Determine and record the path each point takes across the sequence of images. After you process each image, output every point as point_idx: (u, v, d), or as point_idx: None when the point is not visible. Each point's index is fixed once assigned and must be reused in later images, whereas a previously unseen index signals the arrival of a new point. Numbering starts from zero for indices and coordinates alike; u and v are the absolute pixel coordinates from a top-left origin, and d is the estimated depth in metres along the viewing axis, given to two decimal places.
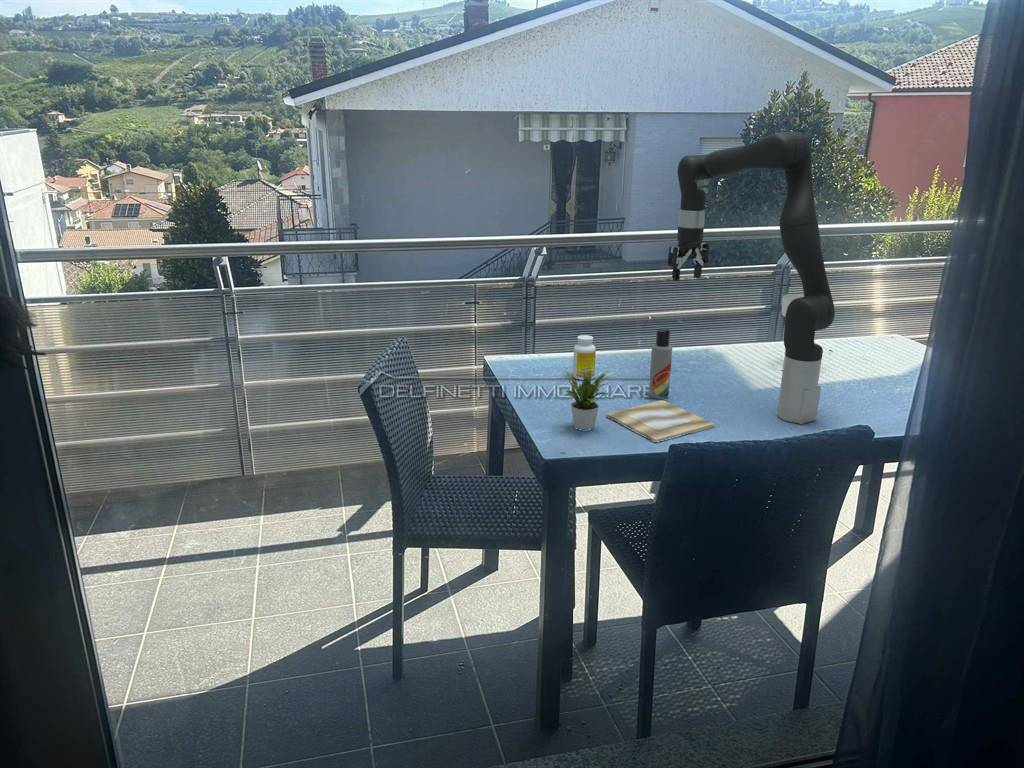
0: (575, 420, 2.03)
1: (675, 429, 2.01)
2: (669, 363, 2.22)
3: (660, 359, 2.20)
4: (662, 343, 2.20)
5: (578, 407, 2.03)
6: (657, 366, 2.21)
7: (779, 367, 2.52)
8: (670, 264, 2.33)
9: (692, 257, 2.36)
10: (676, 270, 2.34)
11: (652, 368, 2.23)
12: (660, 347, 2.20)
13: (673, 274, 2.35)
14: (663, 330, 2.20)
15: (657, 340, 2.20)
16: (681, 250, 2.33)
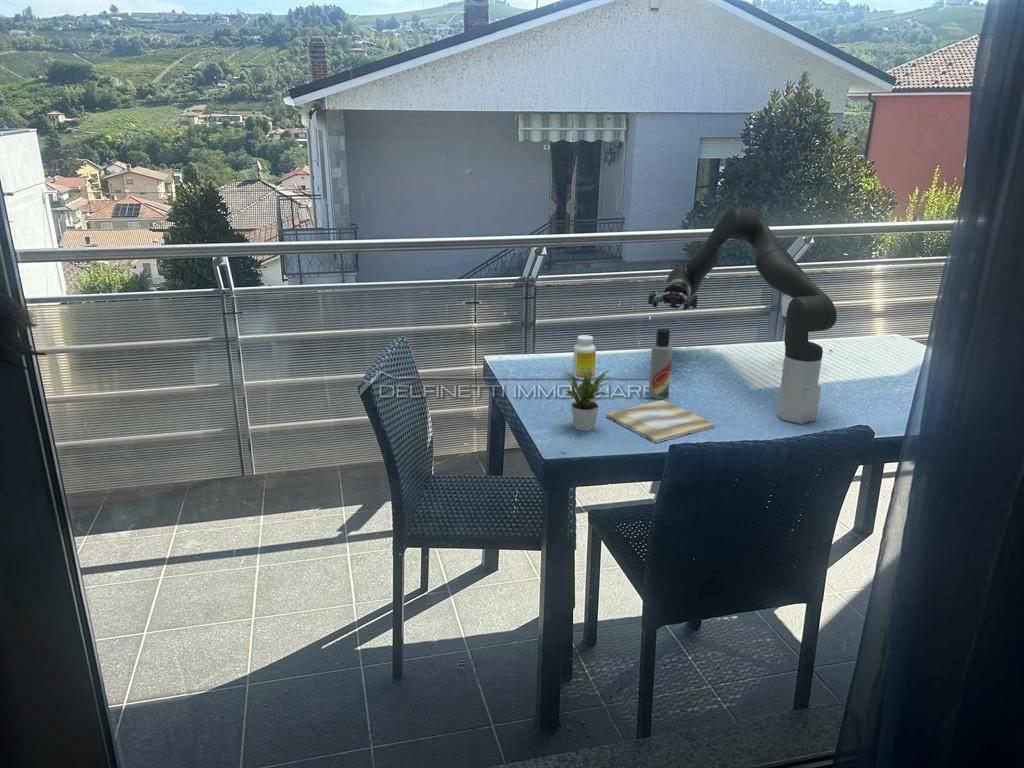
0: (575, 420, 2.03)
1: (675, 429, 2.01)
2: (669, 363, 2.22)
3: (660, 359, 2.20)
4: (662, 343, 2.20)
5: (578, 407, 2.03)
6: (657, 366, 2.21)
7: (779, 367, 2.52)
8: None
9: (675, 296, 2.34)
10: (654, 299, 2.33)
11: (652, 368, 2.23)
12: (660, 347, 2.20)
13: None
14: (663, 330, 2.20)
15: (657, 340, 2.20)
16: None
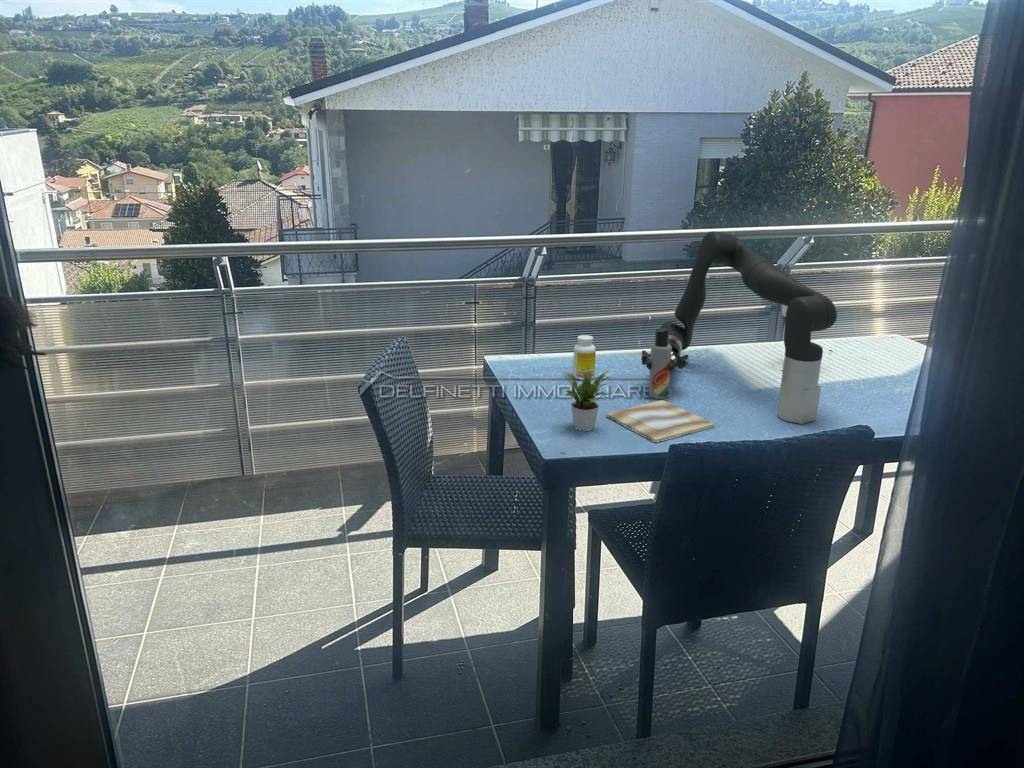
0: (575, 420, 2.03)
1: (675, 429, 2.01)
2: (668, 363, 2.22)
3: (659, 359, 2.20)
4: (661, 343, 2.20)
5: (578, 407, 2.03)
6: (656, 366, 2.21)
7: (779, 367, 2.52)
8: None
9: None
10: (648, 360, 2.25)
11: (651, 368, 2.23)
12: (659, 347, 2.20)
13: None
14: (662, 330, 2.20)
15: (656, 340, 2.20)
16: None
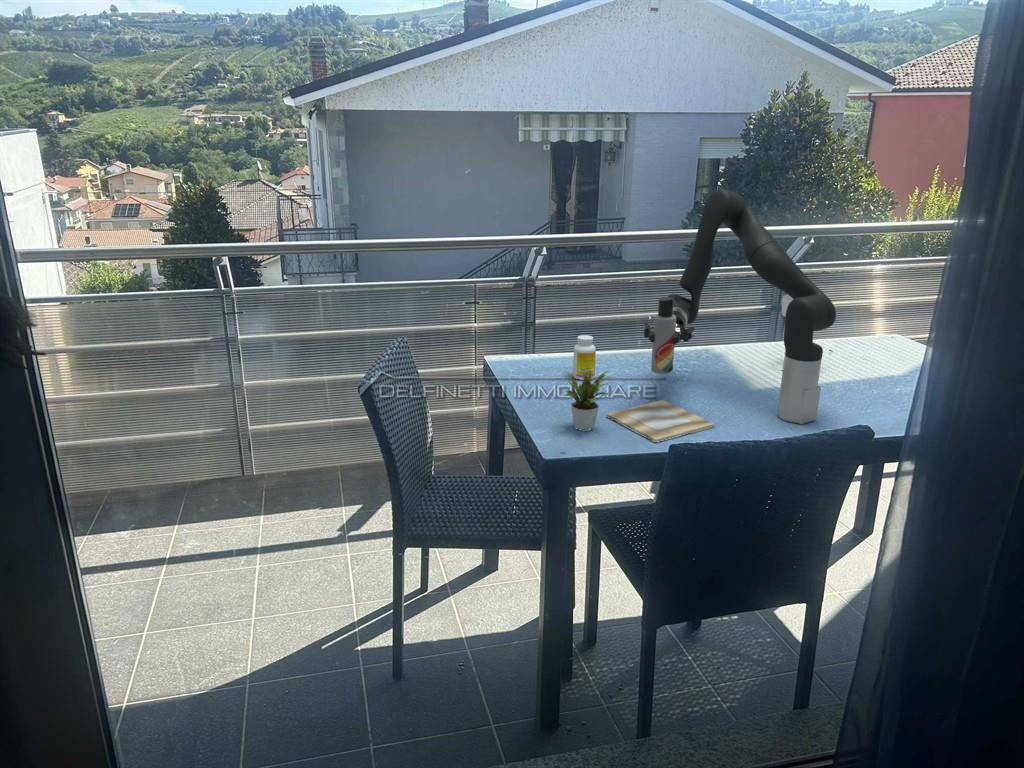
0: (575, 420, 2.03)
1: (675, 429, 2.01)
2: (673, 335, 2.05)
3: (663, 331, 2.04)
4: (665, 313, 2.03)
5: (578, 407, 2.03)
6: (660, 338, 2.05)
7: (779, 367, 2.52)
8: (644, 332, 2.11)
9: None
10: (651, 332, 2.08)
11: (654, 341, 2.06)
12: (663, 317, 2.03)
13: None
14: (666, 299, 2.03)
15: (659, 310, 2.04)
16: None
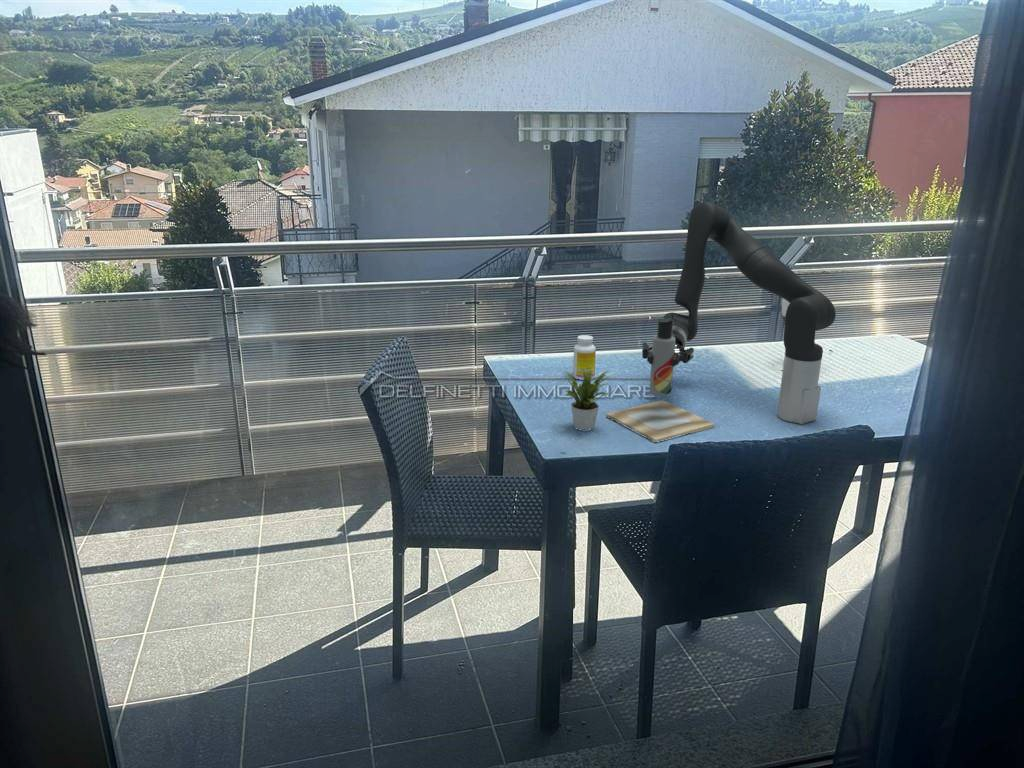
0: (575, 420, 2.03)
1: (675, 429, 2.01)
2: (672, 357, 2.01)
3: (662, 352, 1.99)
4: (664, 335, 1.99)
5: (578, 407, 2.03)
6: (659, 360, 2.00)
7: (779, 367, 2.52)
8: (643, 353, 2.07)
9: None
10: (649, 353, 2.04)
11: (653, 362, 2.02)
12: (662, 339, 1.99)
13: None
14: (665, 320, 1.99)
15: (658, 331, 1.99)
16: None
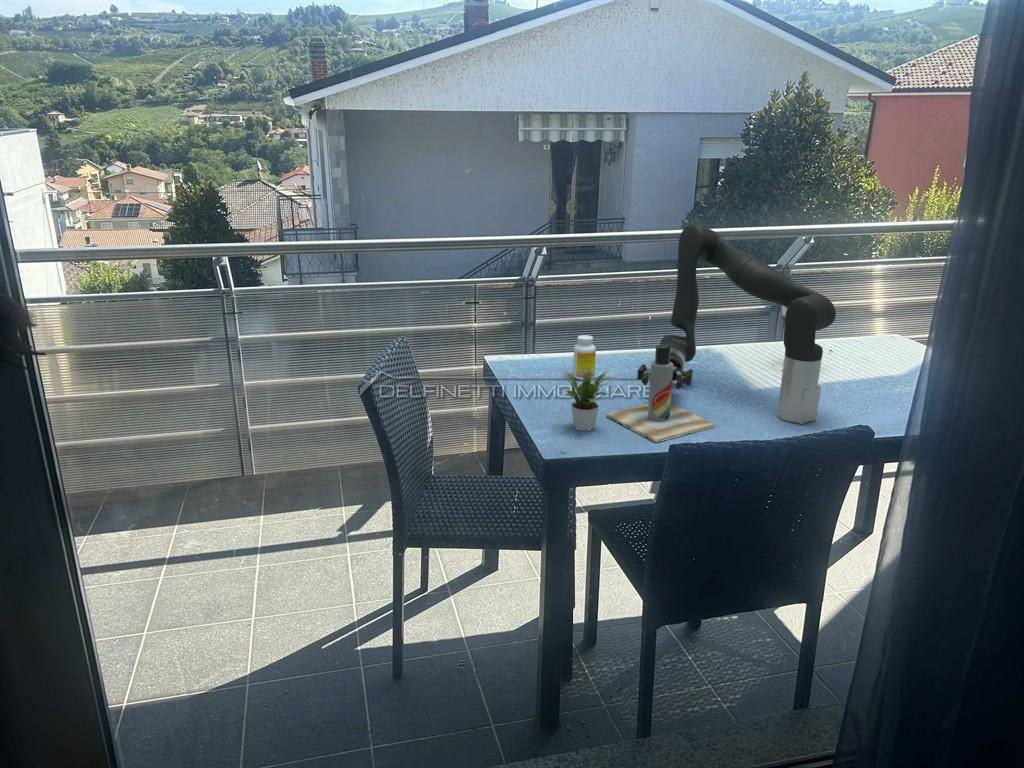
0: (575, 420, 2.03)
1: (675, 429, 2.01)
2: (670, 382, 2.03)
3: (660, 378, 2.02)
4: (662, 360, 2.01)
5: (578, 407, 2.03)
6: (657, 385, 2.03)
7: (779, 367, 2.52)
8: None
9: None
10: (644, 375, 2.07)
11: (651, 388, 2.04)
12: (660, 365, 2.02)
13: None
14: (663, 346, 2.02)
15: (656, 357, 2.02)
16: None
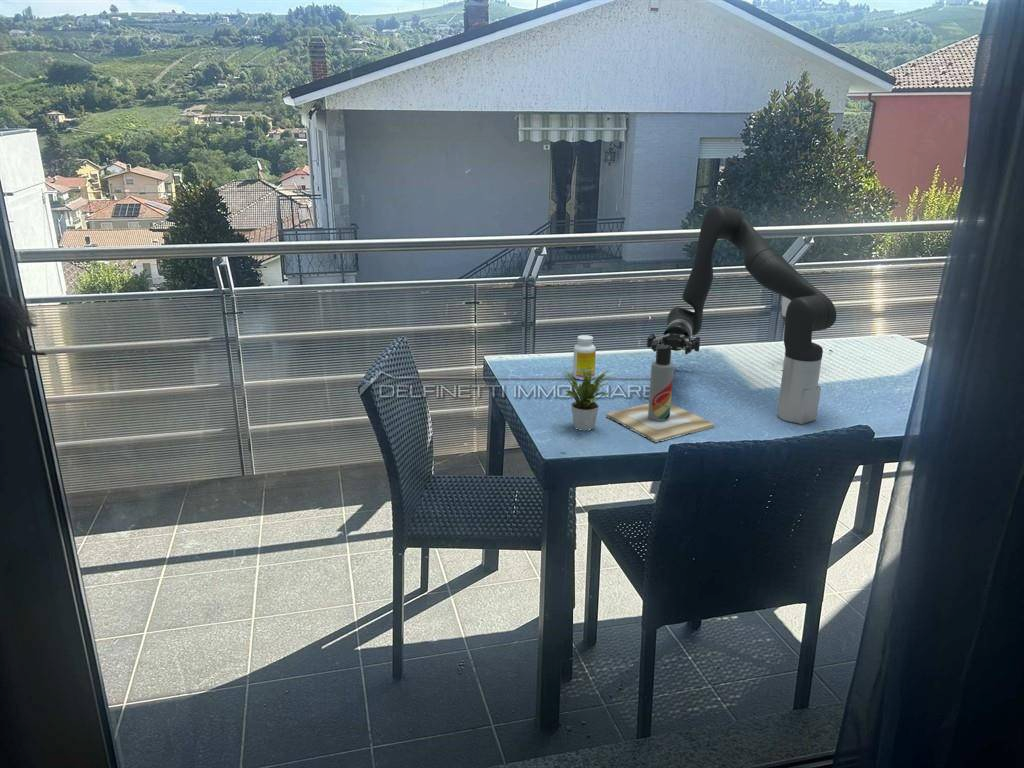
0: (575, 420, 2.03)
1: (675, 429, 2.01)
2: (670, 383, 2.03)
3: (660, 378, 2.02)
4: (663, 361, 2.01)
5: (578, 407, 2.03)
6: (657, 386, 2.03)
7: (779, 367, 2.52)
8: None
9: (676, 339, 2.18)
10: (653, 342, 2.17)
11: (652, 388, 2.04)
12: (660, 365, 2.01)
13: None
14: (664, 347, 2.01)
15: (657, 358, 2.02)
16: None
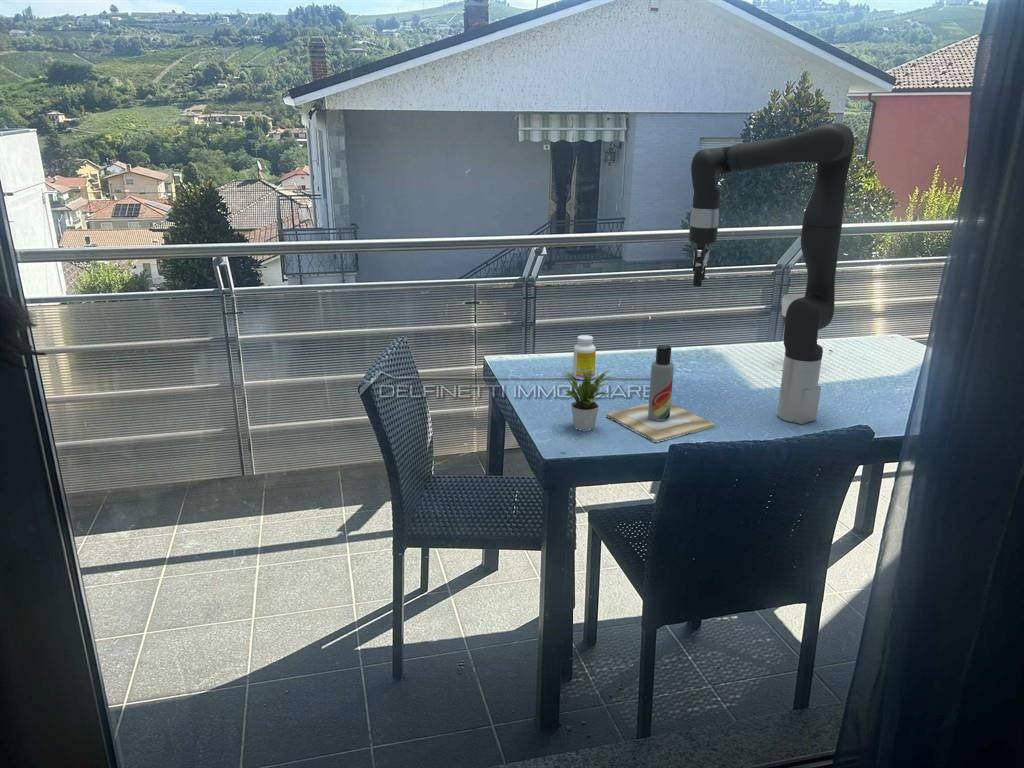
0: (575, 420, 2.03)
1: (675, 429, 2.01)
2: (670, 383, 2.03)
3: (660, 378, 2.02)
4: (663, 361, 2.01)
5: (578, 407, 2.03)
6: (657, 386, 2.03)
7: (779, 367, 2.52)
8: (697, 269, 2.13)
9: None
10: (700, 275, 2.15)
11: (652, 388, 2.04)
12: (660, 365, 2.01)
13: (696, 279, 2.15)
14: (664, 347, 2.01)
15: (657, 358, 2.02)
16: (703, 252, 2.14)
